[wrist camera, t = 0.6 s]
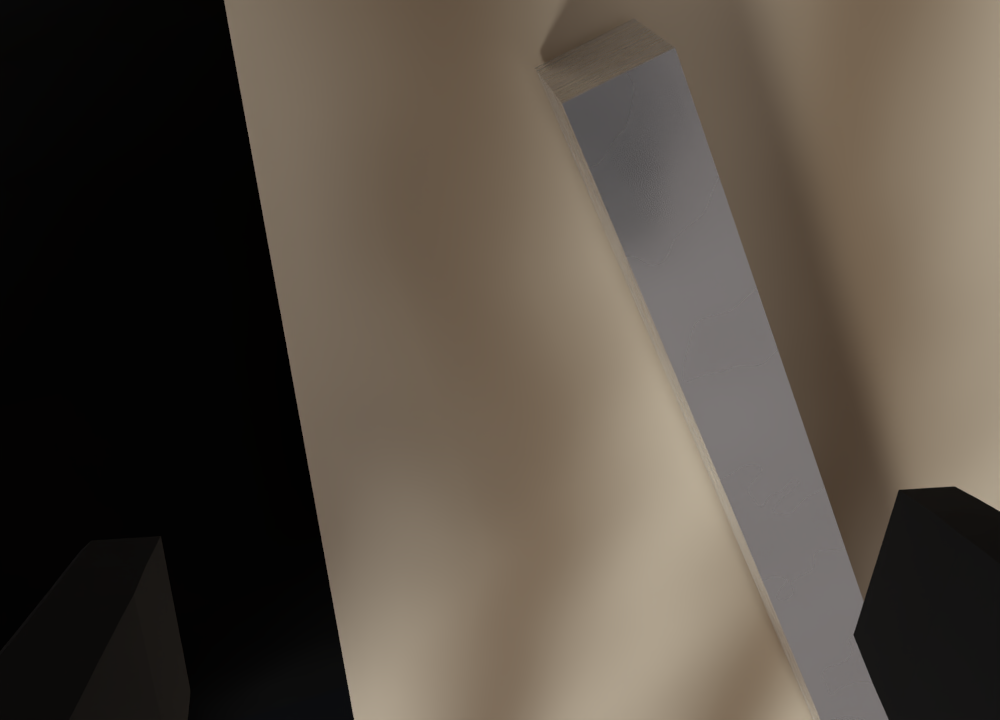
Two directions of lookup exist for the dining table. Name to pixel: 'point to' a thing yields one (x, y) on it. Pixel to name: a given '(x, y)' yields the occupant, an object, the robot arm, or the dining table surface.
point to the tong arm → (714, 345)
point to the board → (608, 331)
